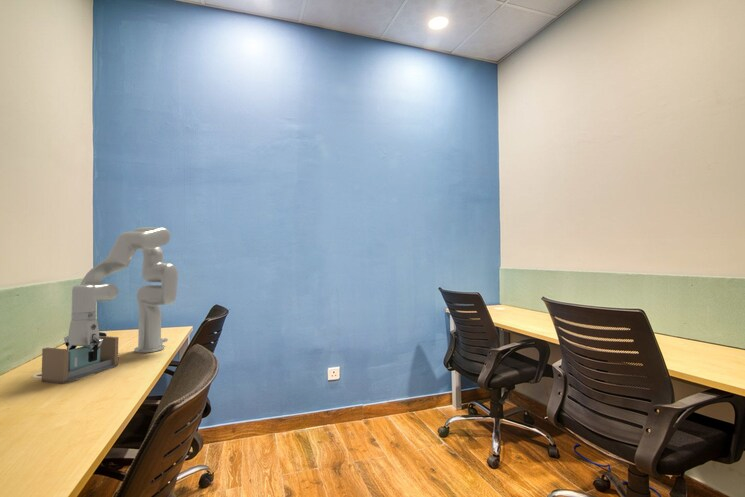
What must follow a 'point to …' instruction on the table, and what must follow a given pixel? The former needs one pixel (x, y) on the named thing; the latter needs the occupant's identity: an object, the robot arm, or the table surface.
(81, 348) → the door panel
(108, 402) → the table surface
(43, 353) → the door frame
